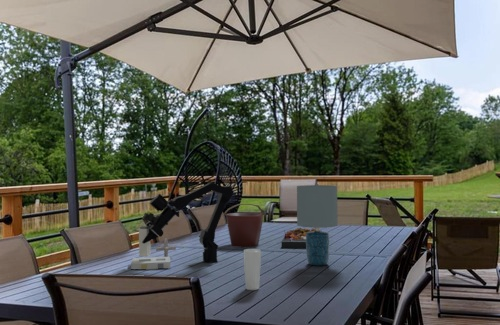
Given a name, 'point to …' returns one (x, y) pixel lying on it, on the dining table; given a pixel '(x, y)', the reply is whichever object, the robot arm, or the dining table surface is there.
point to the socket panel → (150, 263)
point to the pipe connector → (165, 248)
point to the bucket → (244, 227)
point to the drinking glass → (252, 268)
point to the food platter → (295, 238)
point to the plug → (146, 247)
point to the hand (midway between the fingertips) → (141, 242)
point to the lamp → (317, 219)
